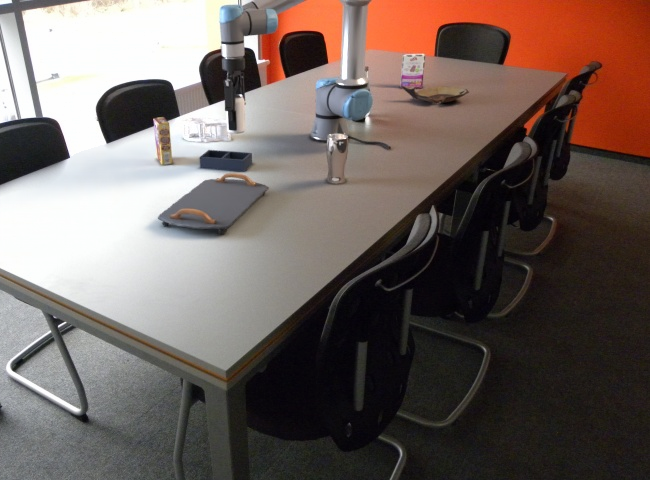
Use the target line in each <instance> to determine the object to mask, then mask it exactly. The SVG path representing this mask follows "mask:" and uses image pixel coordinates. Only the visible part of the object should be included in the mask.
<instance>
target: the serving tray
mask: <svg viewBox="0 0 650 480" xmlns="http://www.w3.org/2000/svg"><path fill="white" fill-rule="evenodd" d="M269 189H270V187H269V186H268V185H266V184H262V183H259V182H255V181H253V180H252V179H251V178H250V177H249V176H247V175H245V174H243V173H237V172H229V173H225V174H223V175H222V176H221V177H220V178H219V177H217V178H210V179H209V178H208V179H205V180H203V181H202V182H200V183H199V184H198V185H197V186H195V187H194V188H192V189H191V190H190V191H188V193H186V194H184V195H183V196H182V197H180V198H179V199H178V200H177V201H175V202H174V203H172V204H171V205H170V206H169V207H168V208H167V209H165V210H164V211H163V212H162V213H160V214H159V215H158V216H157V219H158V220H159V221H160V222H161V224H162V225H163V227H164V228H168V227H169V226H170V225H172V226H176V227H181V228H188V229H195V230H197V229H198V230H217V231H218V233H219V235H221V236H224V235H225V234H226V233H227V229H229V228H230V227H231V226H232V225H234V224H235V223H236V222H237V221H238V220H239V218H241V217H242V216H243V215H244V214H245V213H246V212H247V211H248V210H249V209H250V208H251V207H252V206H253V205H254V204H255V203H256V202H257V201H258V200H259V199H260V198H261V197H264V196H265V195H266V192H267V191H268V190H269Z"/></svg>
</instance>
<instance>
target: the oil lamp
mask: <svg viewBox="0 0 650 480" xmlns="http://www.w3.org/2000/svg"><path fill="white" fill-rule="evenodd" d="M401 87H402V88H401ZM400 88H401V89H403V90H404V91H405V92H406V93H407V94H409V96H410V97H412V98H413V99H415V100H423V101H426V102H428V103H434V104H440V103H441V104H444V103H445V104H446V103H450V102H453V101H456V100H457V99H460V98H462V97H464V96H465V95H467V94H469V93H470V91H469V89H466V88H462V87H458V86H433V87H427V88H422V89H419V90H418V91H416V88H415V87H411V88H409V87H406V86H404V85H402V86H401V85H400Z"/></svg>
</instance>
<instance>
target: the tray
mask: <svg viewBox="0 0 650 480" xmlns="http://www.w3.org/2000/svg"><path fill="white" fill-rule="evenodd" d="M198 160H199V168H200V169H207V170H216V171H217V170H218V171H229V172H230V171H231V172H243V173H244V172H246V171H247V170H248V169H249V168H250V167H251V166H252V165H253V153H252V152H244V151H231V150H218V149H217V150H215V149H208V150H206V152H204V153H203V154H201V155H200V156H199V159H198Z"/></svg>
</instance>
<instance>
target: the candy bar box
mask: <svg viewBox="0 0 650 480" xmlns="http://www.w3.org/2000/svg"><path fill="white" fill-rule="evenodd" d="M401 62H402V63H401V76H400V89H403V88H402V87H401V86H402V85H404V86H422V87H415V89H423V85H424V72H425V62H426V54H425V53H402V60H401ZM409 88H411V87H409Z"/></svg>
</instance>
